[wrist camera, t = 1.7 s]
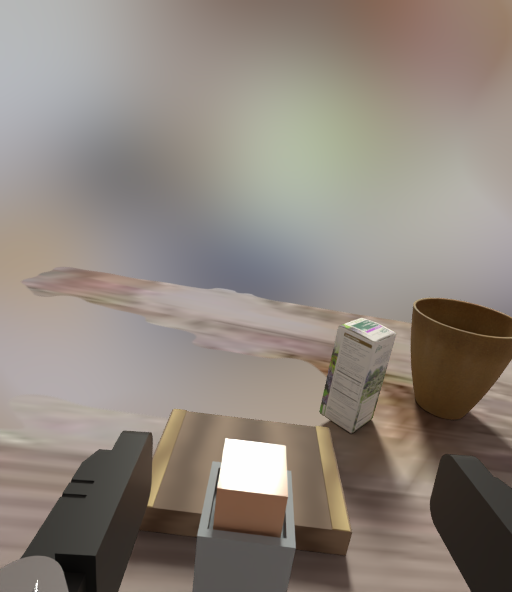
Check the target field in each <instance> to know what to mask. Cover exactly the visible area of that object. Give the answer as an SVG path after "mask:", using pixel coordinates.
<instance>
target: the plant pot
mask: <svg viewBox="0 0 512 592" xmlns="http://www.w3.org/2000/svg"><path fill="white" fill-rule="evenodd" d="M511 359H512V317H510V316H508V315H506V314H504V313H502V312H499V311H496V310H494V309H491V308H488V307H484V306H481V305H477V304H473V303H469V302H465V301H459V300H453V299H445V298H423V299H419V300H417V301H415V302H414V304H413V314H412V327H411V368H412V378H413V387H414V393H415V399H416V402H417V403H418V404H419V406H420V407H422V408H423V409H424V410H426V411H427V412H429V413H431V414H433V415H435V416H438V417H441V418H444V419H452V420H454V419H460V418H462V417H464V416H465V415H466V414H467V413H468V412H469V411H470V410H471V409H472V408H473V407H474V406H475V405H476V404H477V403H478V402H479V401H480V400H481V399H482V398H483V396H484V395H485V394H486V393H487V392H488V391H489V389H490V388H491V387H492V386H493V385H494V383H495V382H496V381H497V379H498V378H499V377H500V375H501V374H502V372H503V371H504V370H505V368H506V367H507V365H508V364H509V362H510V361H511Z"/></svg>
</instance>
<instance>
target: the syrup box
mask: <svg viewBox="0 0 512 592" xmlns="http://www.w3.org/2000/svg"><path fill="white" fill-rule="evenodd" d="M395 337H396V333H395V332H393V331H392V330H390V329H388V328H386V327H384V326H382V325H380V324H378V323H376V322H373V321H370V320H367V319H363V318H360V319H357V320H354V321H351V322H348V323H346V324H343V325H340V326H339V327H338V330H337V335H336V340H335V344H334V349H333V353H332V357H331V362H330V366H329V371H328V375H327V381H326V385H325V389H324V394H323V398H322V403H321V407H320V411H319V412H320V414H322V415H323V416H325V417H327V418H328V419H329V420H331V421H332V422H334V423H336V424H337V425H339V426H340V427H342V428H343V429H345V430H347V431H348V432H350V433H353V432H355V431H356V430H357V429H359V428H360V427H362V426H363V425H364V424H366V423H367V422H368V421H370V420H371V419H372V418H373V415H374V411H375V408H376V404H377V401H378V397H379V394H380V390H381V386H382V383H383V380H384V376H385V373H386V369H387V365H388V362H389V358H390V355H391V351H392V347H393V344H394V340H395Z"/></svg>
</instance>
